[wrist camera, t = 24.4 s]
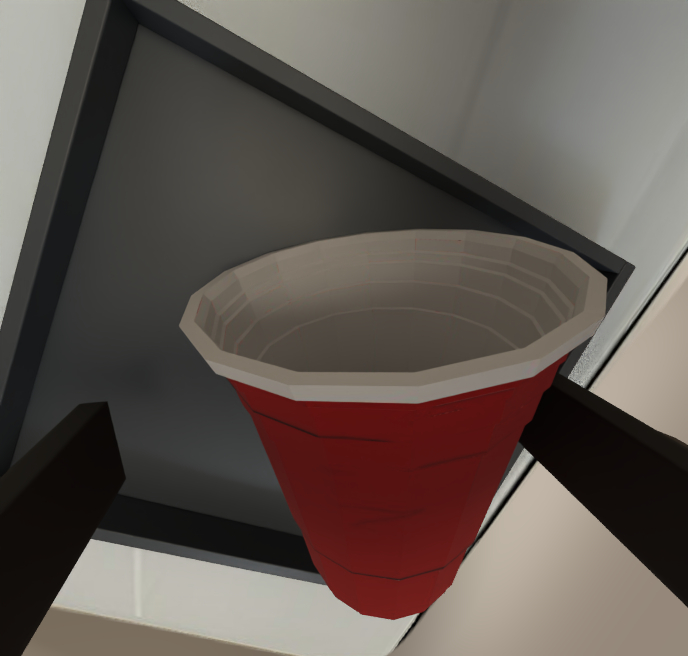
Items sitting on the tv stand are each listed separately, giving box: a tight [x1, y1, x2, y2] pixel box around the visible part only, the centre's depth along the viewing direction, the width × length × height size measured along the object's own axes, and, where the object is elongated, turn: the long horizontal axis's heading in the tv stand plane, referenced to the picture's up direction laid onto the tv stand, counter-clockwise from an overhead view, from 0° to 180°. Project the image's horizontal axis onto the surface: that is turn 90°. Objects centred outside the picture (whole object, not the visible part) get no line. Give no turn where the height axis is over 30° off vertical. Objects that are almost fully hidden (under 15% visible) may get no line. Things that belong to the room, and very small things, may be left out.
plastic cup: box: [179, 229, 607, 620], centre depth 13 cm, size 11×11×12 cm
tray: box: [0, 0, 635, 585], centre depth 16 cm, size 21×19×2 cm
